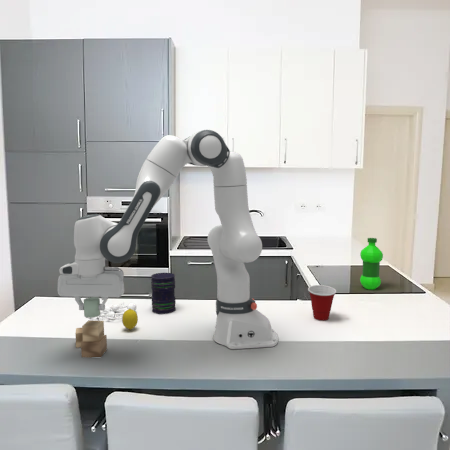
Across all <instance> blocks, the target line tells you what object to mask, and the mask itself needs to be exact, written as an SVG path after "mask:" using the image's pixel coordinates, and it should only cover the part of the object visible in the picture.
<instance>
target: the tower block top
mask: <svg viewBox="0 0 450 450" xmlns="http://www.w3.org/2000/svg"><path fill="white" fill-rule="evenodd" d="M104 324H105V321H104V320H93V319H92V320H91V319H90V320H87V321H86V322H85V323H84V324H83V325H82V326H81V328H82V333H83V342H99V341H100V340H101V339H102V338H103V336H104V335H105V325H104Z"/></svg>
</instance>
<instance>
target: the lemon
mask: <svg viewBox="0 0 450 450" xmlns="http://www.w3.org/2000/svg"><path fill="white" fill-rule="evenodd" d="M121 317H122V320H121V321H122V325H123V327H124V328H126V329H128V330H129V331H131V330H132V329H133V328H135V327H136V326H137V324H138V323H139V321H138V320H139V317H138V313H137V312H136V310H135V311H134V310H132V309H128V310H126V311H125V312H124V314H123V316H121Z"/></svg>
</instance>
